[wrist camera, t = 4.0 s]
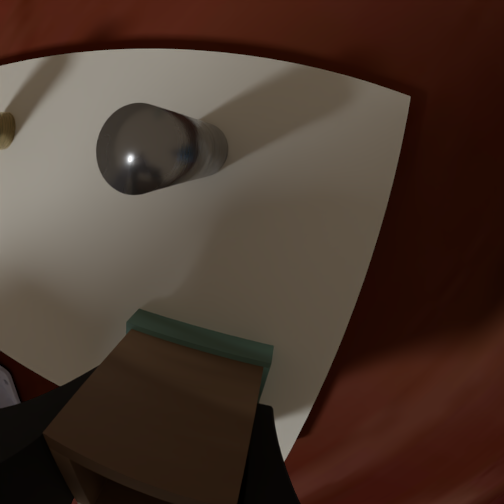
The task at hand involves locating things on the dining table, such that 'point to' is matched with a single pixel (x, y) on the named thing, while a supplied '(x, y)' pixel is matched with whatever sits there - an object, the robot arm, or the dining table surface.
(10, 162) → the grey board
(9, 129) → the brass pin
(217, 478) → the walnut sleeve
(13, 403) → the robot arm
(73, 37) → the dining table surface
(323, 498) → the dining table surface
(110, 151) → the steel pin
